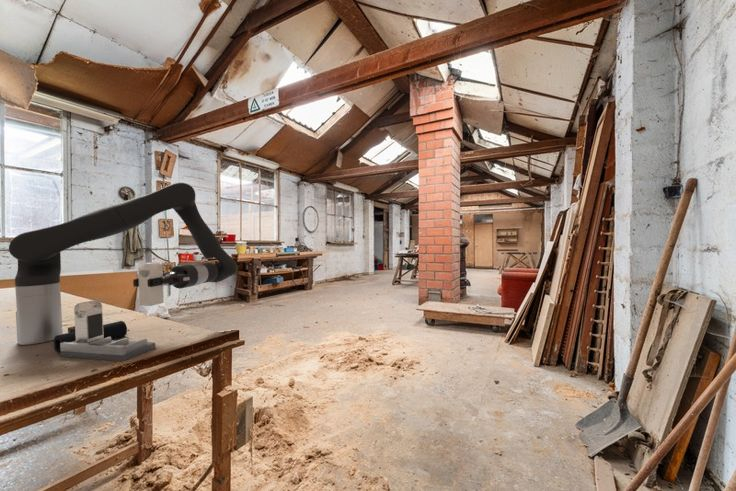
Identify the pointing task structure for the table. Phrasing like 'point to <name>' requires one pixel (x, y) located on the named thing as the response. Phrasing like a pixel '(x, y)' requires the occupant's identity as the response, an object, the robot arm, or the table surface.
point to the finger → (147, 294)
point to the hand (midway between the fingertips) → (141, 283)
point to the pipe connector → (109, 330)
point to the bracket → (99, 338)
